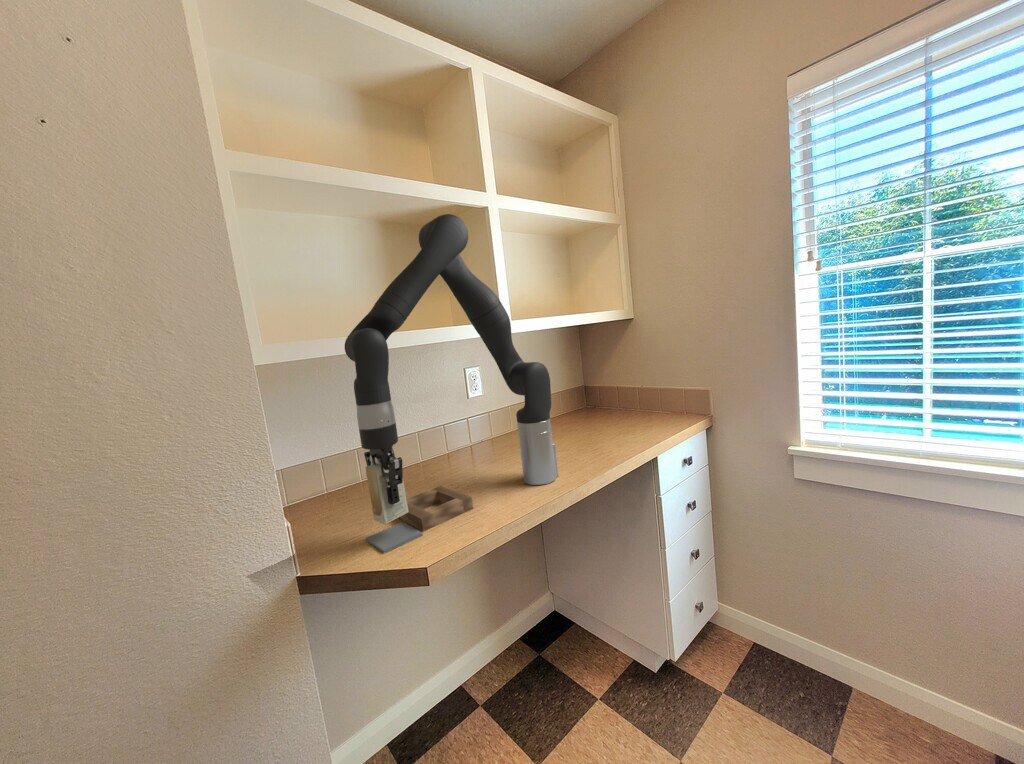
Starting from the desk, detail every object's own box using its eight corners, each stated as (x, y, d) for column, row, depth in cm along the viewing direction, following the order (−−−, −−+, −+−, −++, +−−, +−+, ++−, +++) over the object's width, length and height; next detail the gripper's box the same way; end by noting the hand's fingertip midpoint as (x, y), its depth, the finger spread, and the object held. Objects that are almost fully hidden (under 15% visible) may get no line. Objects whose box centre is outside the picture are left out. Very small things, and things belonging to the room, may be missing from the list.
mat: (403, 524, 94) (402, 521, 94) (422, 535, 88) (422, 532, 87) (366, 540, 88) (365, 537, 88) (384, 553, 82) (383, 550, 81)
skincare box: (397, 509, 91) (390, 457, 90) (409, 512, 88) (401, 459, 87) (372, 521, 86) (364, 466, 85) (383, 525, 83) (375, 468, 82)
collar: (442, 496, 109) (440, 485, 109) (473, 508, 99) (471, 496, 98) (394, 515, 100) (392, 504, 99) (423, 531, 89) (421, 518, 89)
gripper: (409, 422, 82) (420, 501, 84) (379, 417, 93) (390, 488, 95) (374, 430, 77) (387, 515, 79) (347, 424, 88) (358, 499, 90)
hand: (388, 499), depth 87 cm, fingers closed on skincare box, 4 cm apart
